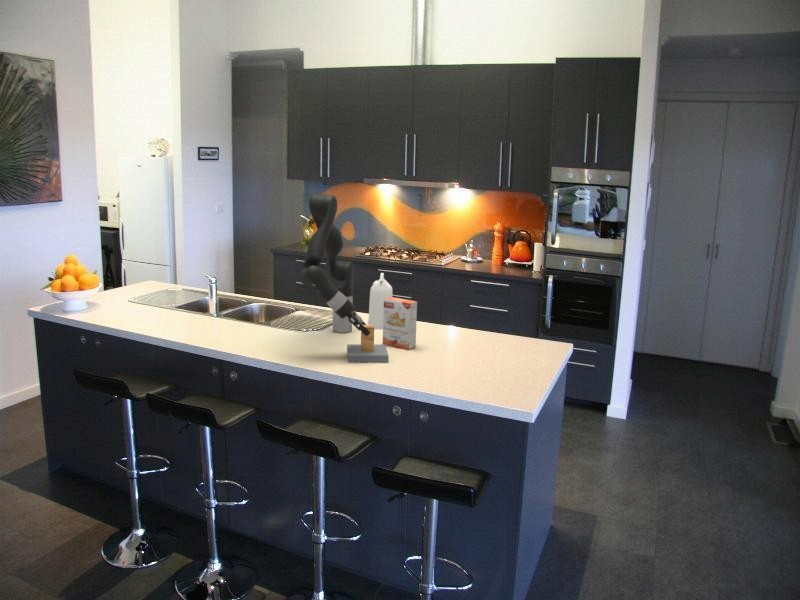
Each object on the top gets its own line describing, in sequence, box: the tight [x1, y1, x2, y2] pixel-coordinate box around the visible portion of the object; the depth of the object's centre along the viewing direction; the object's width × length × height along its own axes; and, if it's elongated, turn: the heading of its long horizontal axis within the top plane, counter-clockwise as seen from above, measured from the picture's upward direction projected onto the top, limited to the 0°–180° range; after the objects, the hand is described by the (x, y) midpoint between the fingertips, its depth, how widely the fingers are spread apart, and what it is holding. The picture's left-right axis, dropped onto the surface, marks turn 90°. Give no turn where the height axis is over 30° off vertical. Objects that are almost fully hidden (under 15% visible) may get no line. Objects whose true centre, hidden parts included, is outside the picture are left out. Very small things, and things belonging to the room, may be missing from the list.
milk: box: [367, 272, 393, 331], centre depth 326 cm, size 12×12×26 cm
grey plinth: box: [346, 343, 389, 364], centre depth 277 cm, size 16×16×3 cm
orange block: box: [360, 324, 375, 352], centre depth 276 cm, size 5×5×10 cm
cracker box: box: [382, 297, 418, 351], centre depth 293 cm, size 14×6×21 cm, turn 57°
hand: (367, 331), depth 276 cm, fingers open, 8 cm apart
